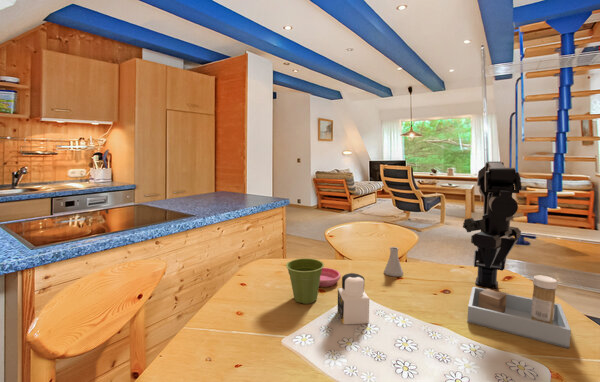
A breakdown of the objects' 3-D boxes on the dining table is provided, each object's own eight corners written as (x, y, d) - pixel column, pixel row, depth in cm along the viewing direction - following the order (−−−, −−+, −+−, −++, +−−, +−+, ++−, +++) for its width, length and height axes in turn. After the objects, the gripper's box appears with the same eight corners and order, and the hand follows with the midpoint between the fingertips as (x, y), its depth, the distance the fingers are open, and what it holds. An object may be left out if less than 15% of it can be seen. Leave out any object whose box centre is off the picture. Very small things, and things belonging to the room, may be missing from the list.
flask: (404, 277, 110) (405, 251, 109) (384, 276, 112) (384, 250, 110) (402, 270, 117) (402, 245, 116) (383, 269, 119) (383, 244, 118)
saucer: (313, 272, 116) (313, 265, 115) (344, 278, 111) (344, 269, 110) (300, 285, 104) (300, 276, 104) (334, 291, 99) (334, 282, 99)
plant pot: (304, 287, 102) (304, 255, 101) (331, 298, 94) (332, 264, 93) (278, 298, 94) (278, 264, 93) (305, 312, 86) (305, 274, 84)
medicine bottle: (337, 311, 86) (337, 271, 85) (361, 310, 87) (362, 270, 85) (342, 325, 79) (343, 281, 78) (369, 323, 80) (370, 280, 78)
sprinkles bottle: (556, 331, 75) (561, 279, 73) (546, 336, 73) (551, 283, 71) (535, 322, 79) (539, 273, 77) (525, 326, 77) (529, 276, 75)
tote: (471, 300, 92) (472, 286, 92) (559, 320, 81) (560, 304, 81) (467, 321, 80) (468, 306, 80) (569, 348, 69) (571, 330, 68)
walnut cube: (486, 304, 89) (487, 288, 88) (505, 311, 85) (506, 294, 84) (478, 309, 86) (479, 292, 85) (497, 317, 82) (498, 299, 81)
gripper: (482, 204, 97) (479, 251, 99) (453, 211, 86) (450, 263, 88) (523, 209, 88) (519, 260, 90) (496, 217, 77) (492, 275, 79)
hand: (494, 264), depth 87 cm, fingers open, 9 cm apart
